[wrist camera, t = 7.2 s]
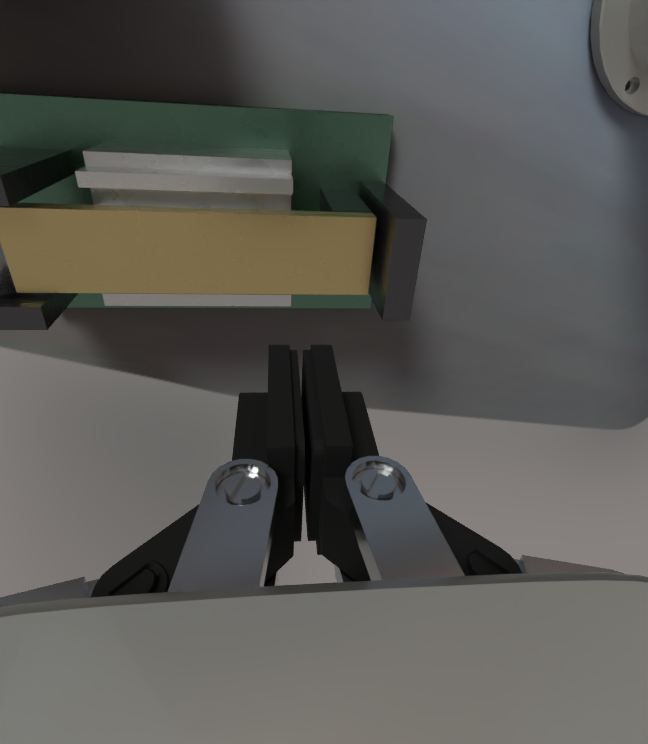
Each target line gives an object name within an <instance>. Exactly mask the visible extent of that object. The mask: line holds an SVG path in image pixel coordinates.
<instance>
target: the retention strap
mask: <svg viewBox="0 0 648 744" xmlns="http://www.w3.org/2000/svg"><path fill="white" fill-rule="evenodd" d="M376 219H377V218H376V217H375V215H374V214H373V213H360V212H326V211H291V210H257V209H223V208H189V207H155V206H120V205H86V204H52V203H18V202H17V203H15V204H13V205H11V206H0V295H8V294H14V293H151V294H325V295H368V289H369V280H370V272H371V263H372V254H373V245H374V237H375V228H376Z"/></svg>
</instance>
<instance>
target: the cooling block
mask: <svg viewBox="0 0 648 744" xmlns="http://www.w3.org/2000/svg"><path fill="white" fill-rule="evenodd" d="M393 117H394V116H391V115H387V114H370V113H353V112H336V111H318V110H301V109H284V108H267V107H249V106H232V105H215V104H197V103H180V102H163V101H146V100H128V99H111V98H94V97H76V96H59V95H42V94H25V93H7V92H0V206H11V205H13V204H15V203H17V202H18V203H52V204H86V205H120V206H155V207H189V208H223V209H257V210H291V211H326V212H360V213H373V214H374V215H375V217H376V218H377V219H376V228H375V237H374V245H373V254H372V263H371V272H370V280H369V289H368V295H325V294H151V293H14V294H8V295H0V330H48V328H49V327H50V326H51V325H52V324H53V323H54V322H55V320H56V319H57V318H58V317H59V316H60V315H61V313H62V312H63V311H64V310H65V309H66V308H364V309H370V308H371V300H373V302H374V304H375V306H376V308H377V310H378V312H379V314H380V316H381V318H382V320H410V314H411V308H412V302H413V297H414V291H415V285H416V279H417V274H418V268H419V262H420V256H421V251H422V245H423V239H424V233H425V228H426V222H427V219H426V218H425V217H424V216H422V215H421V214H420V213H419V212H418V211H417V210H415V209H414V208H413V207H412V206H411V205H410V204H408V203H407V202H406V201H405V200H404V199H403V198H401V197H400V196H399V195H398V194H397V193H396V192H394V191H393V190H392V189H391V188H390V187H389V186H387V185H386V175H387V167H388V159H389V150H390V142H391V134H392V126H393Z"/></svg>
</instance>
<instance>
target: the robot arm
mask: <svg viewBox="0 0 648 744" xmlns="http://www.w3.org/2000/svg"><path fill="white" fill-rule="evenodd" d="M590 38H591V47H592V55H593V62H594V65H595V68H596V71H597V74H598V77H599V80H600V81H601V83H602V85H603V86H604V88H605V90H606V91H607V93H608V95H609V96H610V97H611V98H612V99H613V100H614V101H616V102H617V103H618V104H619V105H620V106H621V107H623V108H625V109H627V110H628V111H630V112H632V113H634V114H638V115H643V116H648V0H594V2H593V8H592V14H591V37H590ZM303 486H304V495H305V509H306V523H307V537H308V541H315V540H316V545H317V554H318V555H321V554H322V555H323V556H324V557H326V558H327V559H328V560H329V561H331V562H332V563H333V564H334V565H335V576H336V579H337V583H321V584H303V585H284V586H277V582H278V570H279V569H280V568H281V567H282V566H283V565H284V564H285V563H286V562H287V561H288V560H289V559H290V558H292V557H293V549H294V541H301V530H302V509H303V508H302V507H303ZM0 744H648V577H645V576H640V575H628V574H624V573H621V572H617V571H614V570H611V569H605V568H599V567H593V566H587V565H580V564H574V563H568V562H562V561H556V560H550V559H543V558H537V557H531V556H525V555H522V557H521V559H520V560H517V559H513V558H512V557H511V556H510V555H509V554H508V553H507V552H506V551H504V550H503V549H502V548H500V547H499V546H497V545H495V544H494V543H492V542H490V541H489V540H487V539H485V538H483V537H482V536H480V535H479V534H477V533H475V532H474V531H472V530H471V529H469V528H467V527H465V526H464V525H462V524H460V523H459V522H457V521H456V520H454V519H452V518H451V517H449V516H447V515H445V514H444V513H442V512H441V511H439V510H437V509H436V508H434V507H432V506H431V505H429V504H427V503H426V502H425V501H424V499H423V497H422V495H421V493H420V492H419V490H418V488H417V486H416V484H415V482H414V480H413V479H412V477H411V475H410V473H409V472H408V471H407V470H406V468H405V467H403V466H402V465H401V464H399V463H398V462H396V461H394V460H392V459H390V458H386V457H382V456H379V453H378V450H377V446H376V442H375V439H374V435H373V431H372V428H371V424H370V421H369V417H368V413H367V409H366V406H365V402H364V399H363V395H362V393H361V392H341V387H340V382H339V378H338V373H337V368H336V363H335V359H334V354H333V349H332V345H311V350H303V367H302V395H301V390H300V378H299V366H298V354H297V350H289V345H269V367H268V393H240V394H239V401H238V410H237V419H236V428H235V438H234V447H233V457H232V461H230V462H227V463H226V464H224V465H222V466H220V467H219V468H218V469H217V470H215V471H214V472H213V473H212V475H211V477H210V478H209V480H208V482H207V485H206V488H205V491H204V493H203V496H202V499H201V502H200V504H199V505H197V506H196V507H195V508H193V509H192V510H190V511H189V512H188V513H186V514H185V515H184V516H182V517H181V518H179V519H178V520H176V521H175V522H173V523H172V524H171V525H169V526H168V527H166V528H165V529H164V530H162V531H161V532H160V533H158V534H157V535H155V536H154V537H152V538H151V539H150V540H148V541H147V542H146V543H144V544H143V545H141V546H140V547H138V548H137V549H136V550H134V551H133V552H131V553H130V554H129V555H127V556H126V557H124V558H123V559H122V560H120V561H119V562H117V563H116V564H115V565H113V566H112V567H111V568H110V569H109V570H108V571H106V572H105V573H104V574H103V575H102V576H101V578H100V579H97V580H93V581H89V582H86V579H85V577H81V578H78V579H73V580H70V581H65V582H62V583H57V584H53V585H49V586H45V587H41V588H37V589H33V590H29V591H25V592H21V593H17V594H13V595H9V596H5V597H1V598H0Z"/></svg>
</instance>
